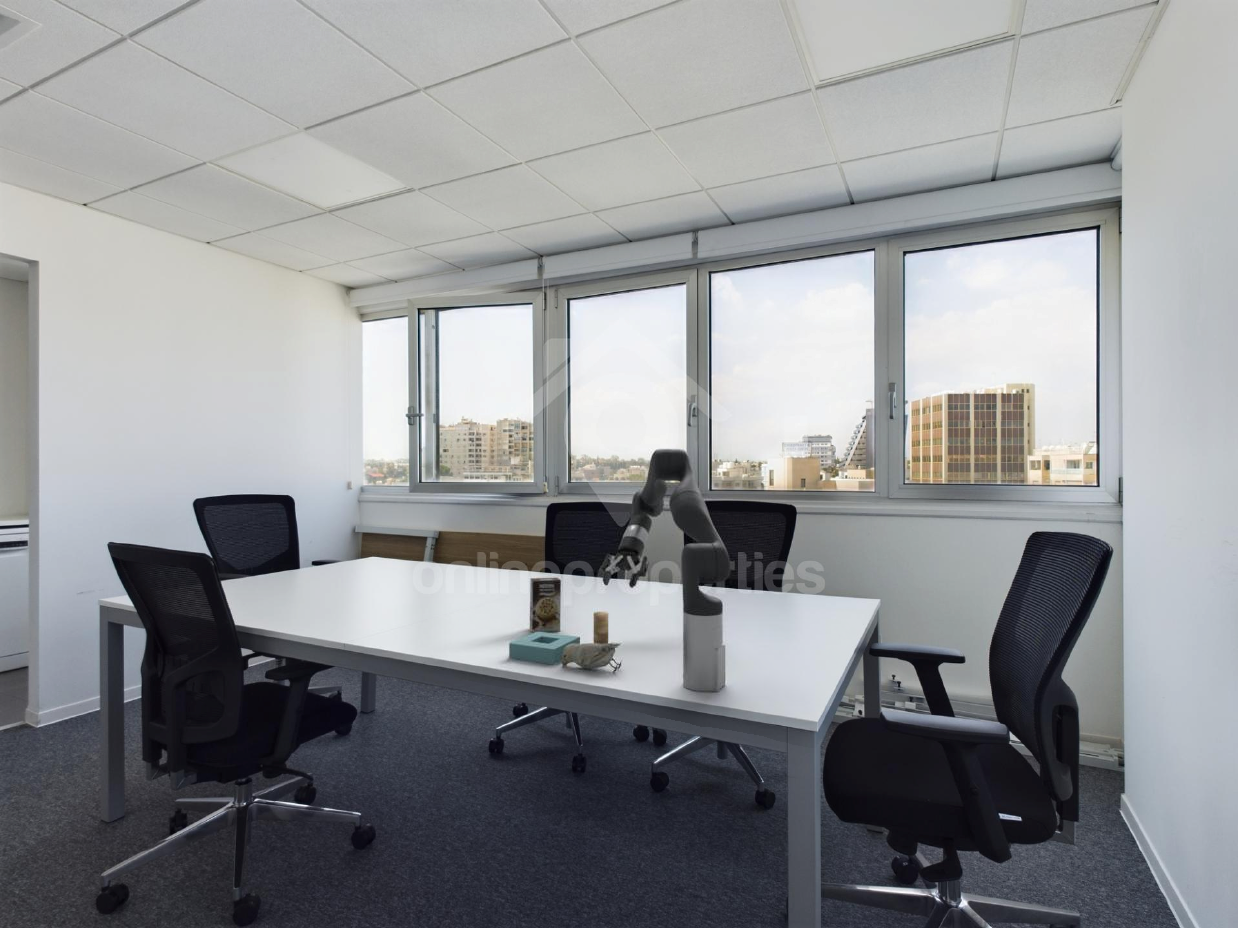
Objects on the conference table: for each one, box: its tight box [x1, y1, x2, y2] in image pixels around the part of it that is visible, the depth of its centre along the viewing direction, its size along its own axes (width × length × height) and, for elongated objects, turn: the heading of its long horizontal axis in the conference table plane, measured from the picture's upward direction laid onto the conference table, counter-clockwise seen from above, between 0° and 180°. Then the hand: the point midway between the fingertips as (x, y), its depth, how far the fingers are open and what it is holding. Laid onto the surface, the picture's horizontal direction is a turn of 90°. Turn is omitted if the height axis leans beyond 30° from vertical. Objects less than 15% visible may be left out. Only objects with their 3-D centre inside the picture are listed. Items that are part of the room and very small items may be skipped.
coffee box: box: [529, 577, 562, 633], centre depth 206 cm, size 9×6×16 cm
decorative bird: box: [561, 642, 622, 674], centre depth 165 cm, size 5×16×8 cm, turn 69°
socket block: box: [508, 632, 581, 666], centre depth 177 cm, size 14×14×4 cm
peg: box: [593, 611, 609, 644], centre depth 184 cm, size 4×4×10 cm
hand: (618, 584), depth 194 cm, fingers open, 8 cm apart
